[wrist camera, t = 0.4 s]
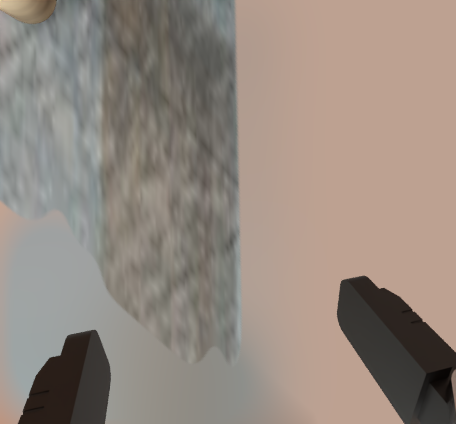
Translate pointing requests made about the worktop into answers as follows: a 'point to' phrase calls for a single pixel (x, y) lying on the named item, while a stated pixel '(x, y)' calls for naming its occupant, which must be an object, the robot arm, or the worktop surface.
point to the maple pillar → (28, 9)
